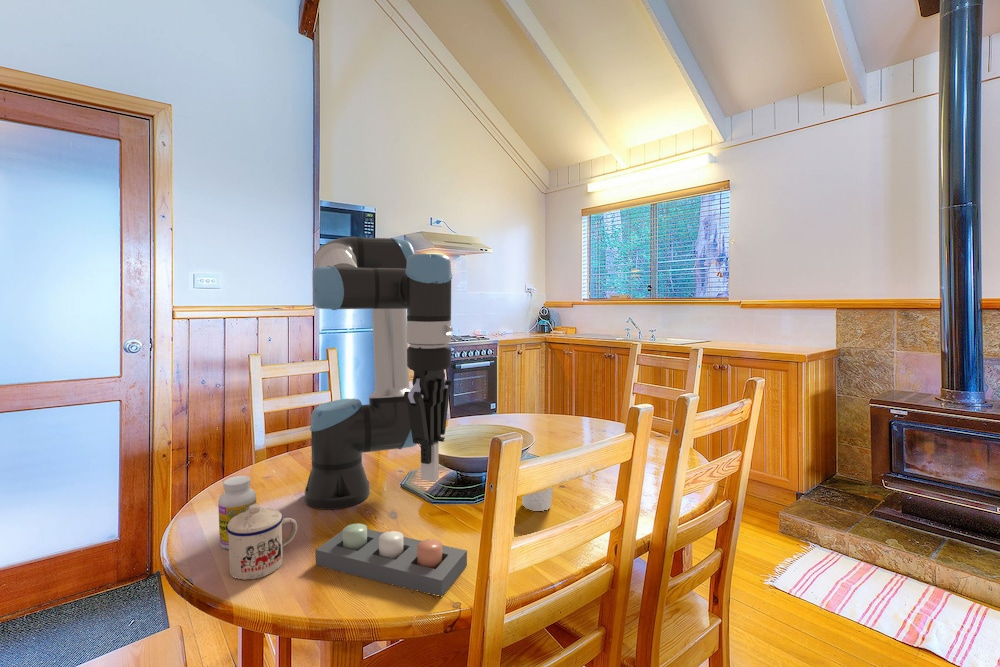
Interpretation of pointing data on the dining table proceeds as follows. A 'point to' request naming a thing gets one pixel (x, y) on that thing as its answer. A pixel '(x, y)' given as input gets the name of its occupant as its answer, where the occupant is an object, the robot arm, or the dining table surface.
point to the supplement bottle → (233, 503)
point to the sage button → (355, 536)
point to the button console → (393, 564)
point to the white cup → (538, 500)
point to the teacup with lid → (257, 542)
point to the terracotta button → (429, 553)
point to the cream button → (391, 544)
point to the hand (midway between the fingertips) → (429, 479)
